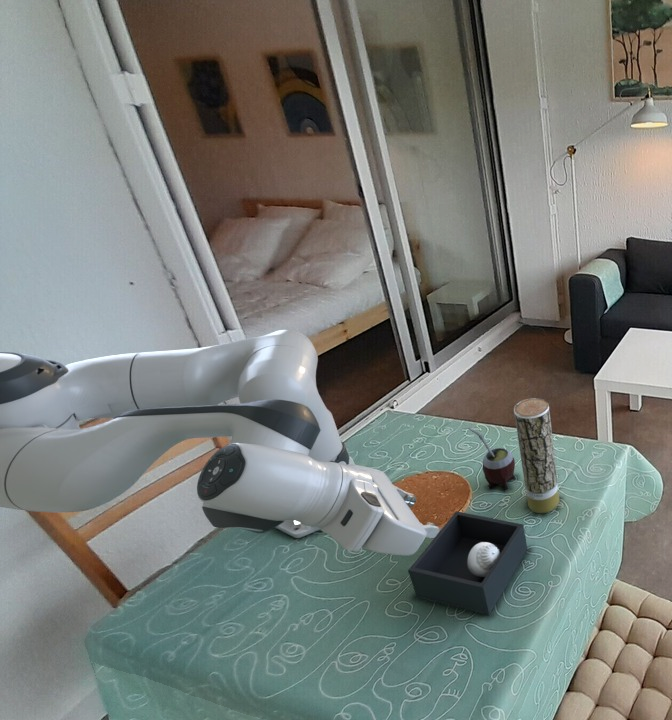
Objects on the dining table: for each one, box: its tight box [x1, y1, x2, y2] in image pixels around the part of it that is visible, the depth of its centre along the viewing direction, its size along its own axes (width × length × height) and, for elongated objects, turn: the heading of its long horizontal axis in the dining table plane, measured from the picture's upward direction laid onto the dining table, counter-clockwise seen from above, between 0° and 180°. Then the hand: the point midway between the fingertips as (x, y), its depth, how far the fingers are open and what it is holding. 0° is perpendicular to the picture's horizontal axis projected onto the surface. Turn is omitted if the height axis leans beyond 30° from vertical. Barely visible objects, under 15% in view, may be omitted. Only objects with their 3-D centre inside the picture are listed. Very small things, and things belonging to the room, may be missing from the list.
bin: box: [407, 510, 528, 616], centre depth 92 cm, size 15×15×7 cm
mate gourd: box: [467, 426, 516, 491], centre depth 113 cm, size 8×8×15 cm
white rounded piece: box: [467, 542, 500, 577], centre depth 90 cm, size 6×6×7 cm
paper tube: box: [513, 397, 560, 514], centre depth 104 cm, size 7×7×25 cm
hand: (424, 515), depth 82 cm, fingers open, 8 cm apart
